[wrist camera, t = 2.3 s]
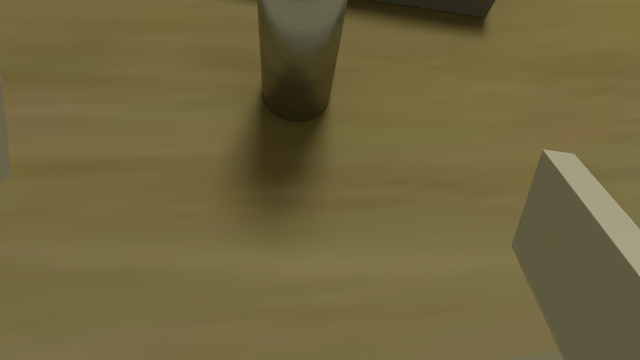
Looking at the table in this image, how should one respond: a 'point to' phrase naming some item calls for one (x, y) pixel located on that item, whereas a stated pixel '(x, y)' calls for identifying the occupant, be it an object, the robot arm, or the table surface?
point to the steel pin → (299, 54)
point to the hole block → (450, 5)
